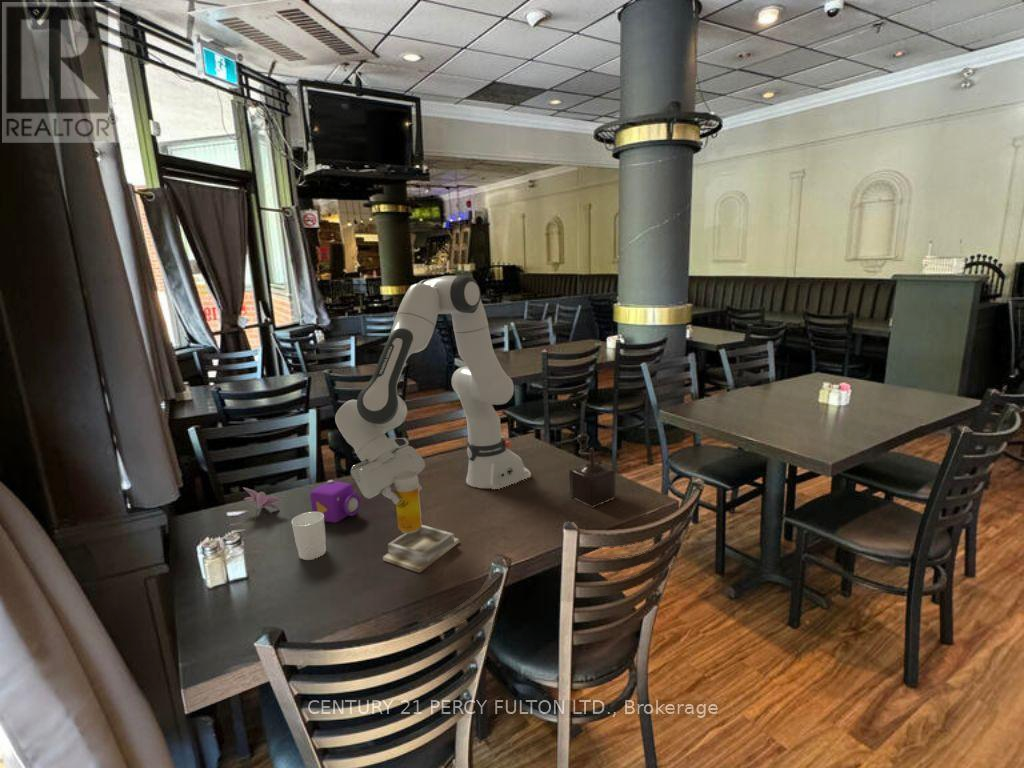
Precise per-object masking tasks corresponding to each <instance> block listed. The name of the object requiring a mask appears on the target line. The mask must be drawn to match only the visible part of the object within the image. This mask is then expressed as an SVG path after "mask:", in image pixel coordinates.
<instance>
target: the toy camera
mask: <svg viewBox="0 0 1024 768" xmlns="http://www.w3.org/2000/svg"><path fill="white" fill-rule="evenodd" d="M309 497H310V502H311V510H312V511H311V512H321V513H323V514H324V522H329V523H332V524H333V523H338V522H341V521H342V520H344V519H345V518H347V517H349V516H350V517H354V516H355V515H356V514H357V513H358V511H359V509H360V507H361V498H360V496H359V494H357V493H354V487H353V485H352V484H350V483H348V482H347V483H346V482H341V481H334V480H333V479H328V480H327V481H326V482H325V483H323V484H322V485H320V486H318V487H317V488H314V489H313V490H312V491H311V492H310V496H309Z"/></svg>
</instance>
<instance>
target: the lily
mask: <svg viewBox="0 0 1024 768" xmlns="http://www.w3.org/2000/svg"><path fill="white" fill-rule="evenodd" d="M242 488H243V490H244V491H246V492H247V493H248V495H250V496H247V497H244V498H243V500H246V501H250V502H254V503H255V504H256V506H257V509H256V513H255V517H254V521H257V515H258V511H259V508H262V509H264V508H267V507H270V508H273V509H275V510H277V511H280V508H279V507H278V506H277V505H276V503H279V502H284V500H283V499H281V498H279V497H276V496H269V495H267V493H265V492H264V491H260V492H257V491H256V490H254V489H251V488H248V487H242Z"/></svg>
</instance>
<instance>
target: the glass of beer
mask: <svg viewBox="0 0 1024 768" xmlns="http://www.w3.org/2000/svg"><path fill="white" fill-rule="evenodd" d="M417 476H418V474H417V475H416V473H415V472H412V471H404V472H401V474H399V475H398V476H397V477H396V475H395V479H394V486H393V487H394V488H393V489H394V494H396V495H397V494H399V495H400V497H401V498H402V500H401V502H399V503H398V504H395V506H396V516H397V527H398V530H399V531H401V533H403V534H404V533H407V534H409V533H414V532H417V531H418V530H419V529H420V527H421V526H422V525H423V520H422V510H421V501H420V500H421V498H420V491H419V485H418V481H419V476H418V477H417Z"/></svg>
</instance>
